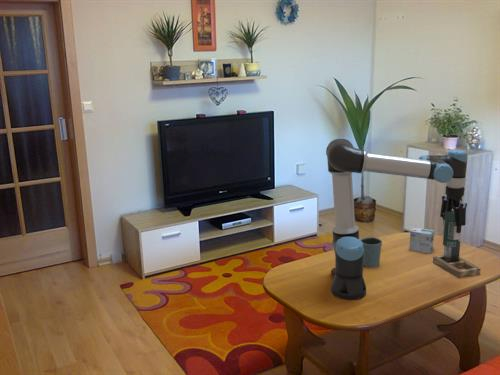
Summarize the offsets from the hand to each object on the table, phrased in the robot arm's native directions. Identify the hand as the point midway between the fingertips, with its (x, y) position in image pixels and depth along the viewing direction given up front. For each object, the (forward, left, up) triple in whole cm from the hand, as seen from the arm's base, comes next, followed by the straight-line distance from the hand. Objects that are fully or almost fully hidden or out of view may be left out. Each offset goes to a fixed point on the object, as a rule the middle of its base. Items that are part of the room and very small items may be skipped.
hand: (451, 236), depth 225 cm
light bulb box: (+10, +34, -21) cm, 41 cm away
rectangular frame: (+12, +9, -21) cm, 25 cm away
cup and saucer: (-41, +21, -21) cm, 51 cm away
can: (0, 0, -4) cm, 4 cm away
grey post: (+12, +13, -21) cm, 27 cm away
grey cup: (-23, +28, -21) cm, 42 cm away
